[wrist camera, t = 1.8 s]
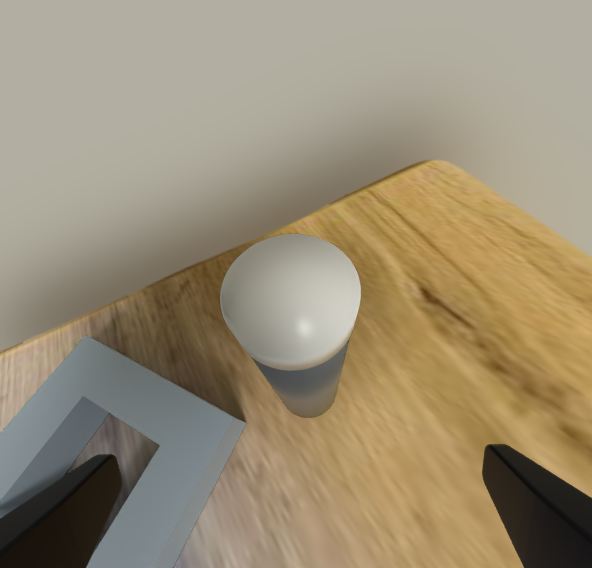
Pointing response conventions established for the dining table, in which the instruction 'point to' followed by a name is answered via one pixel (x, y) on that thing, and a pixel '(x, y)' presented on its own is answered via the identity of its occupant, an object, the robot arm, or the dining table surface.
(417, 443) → the dining table surface
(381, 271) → the dining table surface
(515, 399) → the dining table surface
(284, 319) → the peg
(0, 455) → the socket
